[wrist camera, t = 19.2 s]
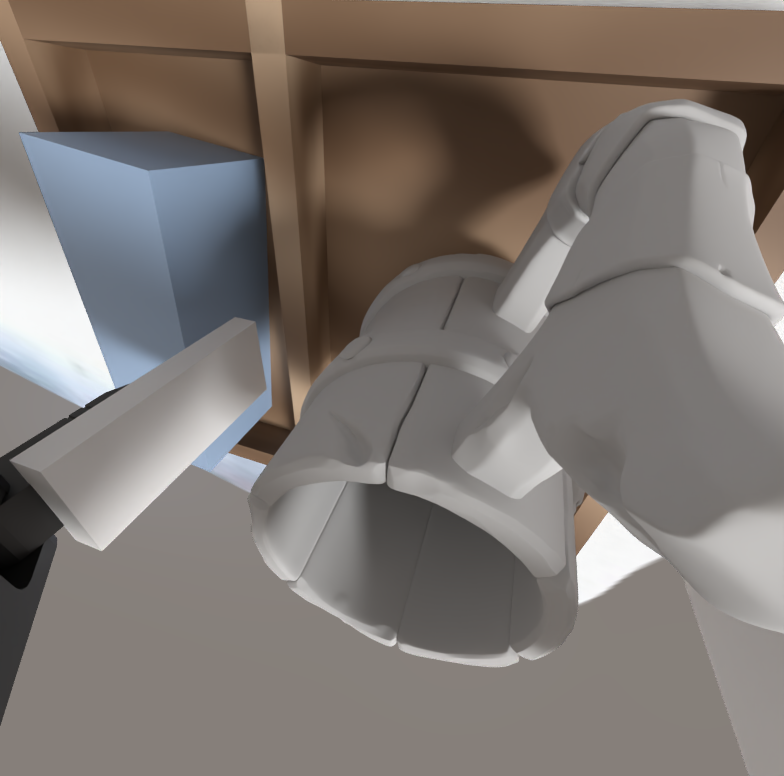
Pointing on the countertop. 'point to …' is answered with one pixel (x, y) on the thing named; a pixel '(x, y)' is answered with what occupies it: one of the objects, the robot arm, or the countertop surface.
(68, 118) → the tray
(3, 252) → the countertop surface
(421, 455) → the mug
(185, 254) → the long blue-grey cuboid
